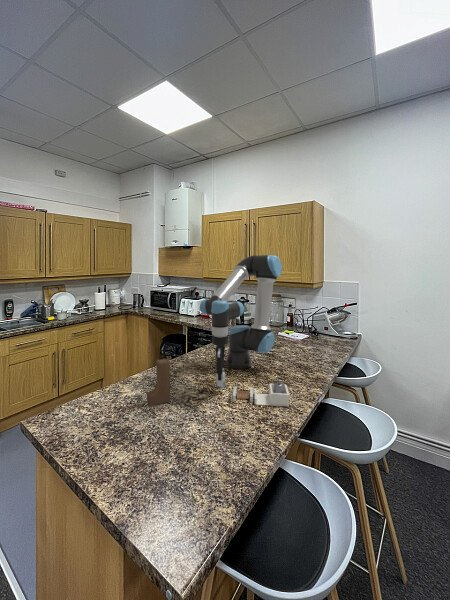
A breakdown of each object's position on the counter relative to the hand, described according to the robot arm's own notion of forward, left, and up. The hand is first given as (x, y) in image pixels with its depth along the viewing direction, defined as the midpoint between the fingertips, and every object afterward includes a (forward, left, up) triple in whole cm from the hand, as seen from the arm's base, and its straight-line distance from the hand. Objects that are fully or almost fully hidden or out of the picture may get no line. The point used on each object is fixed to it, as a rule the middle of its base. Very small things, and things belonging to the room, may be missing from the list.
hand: (220, 383), depth 130 cm
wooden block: (+13, -25, -4) cm, 29 cm away
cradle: (+7, +11, -4) cm, 13 cm away
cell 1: (0, 0, -1) cm, 1 cm away
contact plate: (+7, +11, -3) cm, 13 cm away
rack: (+8, +23, -4) cm, 24 cm away
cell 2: (+8, +26, -3) cm, 27 cm away
